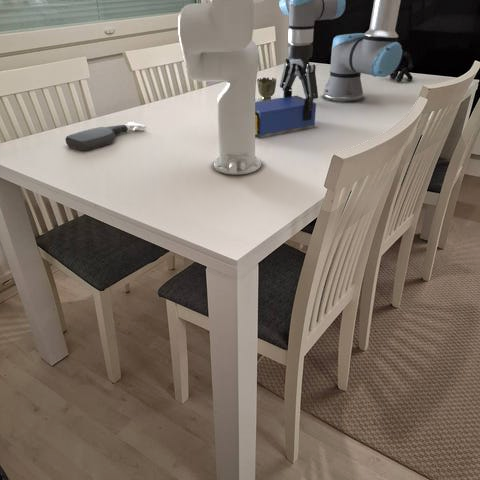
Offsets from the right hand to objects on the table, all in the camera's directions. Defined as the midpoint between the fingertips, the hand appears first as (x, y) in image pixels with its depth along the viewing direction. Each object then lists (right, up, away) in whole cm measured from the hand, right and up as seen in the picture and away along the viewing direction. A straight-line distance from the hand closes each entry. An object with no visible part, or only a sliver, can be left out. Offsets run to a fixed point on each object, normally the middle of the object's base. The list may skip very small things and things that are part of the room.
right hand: (296, 115), depth 147 cm
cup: (-8, +13, +27) cm, 32 cm away
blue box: (-6, -4, -1) cm, 7 cm away
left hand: (-19, +4, -14) cm, 24 cm away
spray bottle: (-60, -9, -7) cm, 61 cm away
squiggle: (+53, +31, +53) cm, 81 cm away
